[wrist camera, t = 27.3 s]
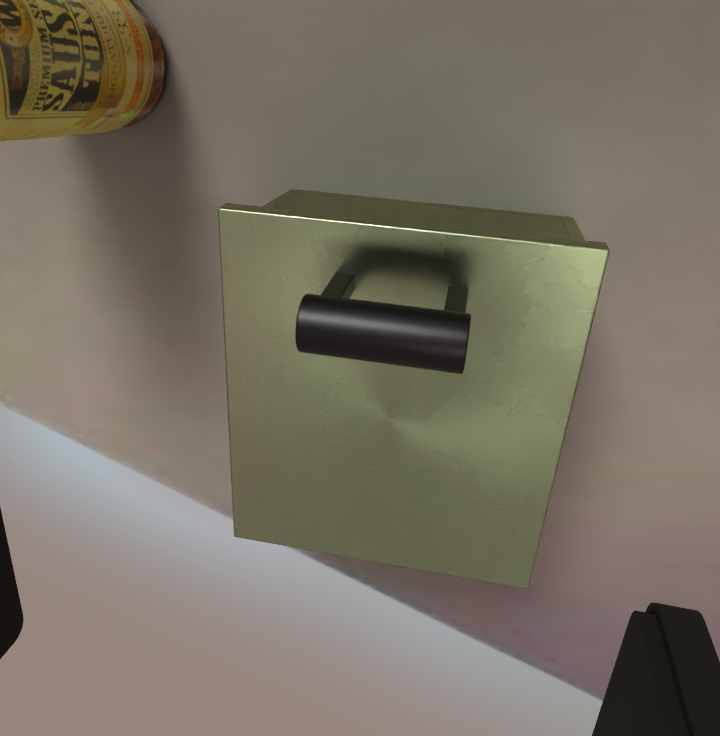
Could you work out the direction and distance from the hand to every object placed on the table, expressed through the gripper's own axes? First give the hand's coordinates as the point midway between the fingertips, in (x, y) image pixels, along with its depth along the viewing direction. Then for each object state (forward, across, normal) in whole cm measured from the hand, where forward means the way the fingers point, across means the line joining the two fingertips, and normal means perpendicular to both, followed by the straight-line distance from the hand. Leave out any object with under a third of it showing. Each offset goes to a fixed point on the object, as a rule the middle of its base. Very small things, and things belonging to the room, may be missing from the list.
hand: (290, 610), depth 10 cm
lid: (+16, +1, +5) cm, 17 cm away
